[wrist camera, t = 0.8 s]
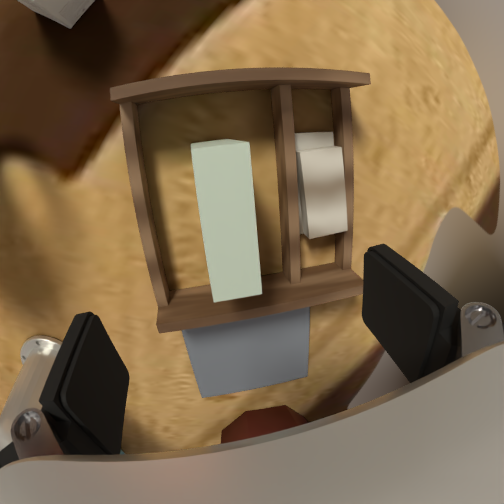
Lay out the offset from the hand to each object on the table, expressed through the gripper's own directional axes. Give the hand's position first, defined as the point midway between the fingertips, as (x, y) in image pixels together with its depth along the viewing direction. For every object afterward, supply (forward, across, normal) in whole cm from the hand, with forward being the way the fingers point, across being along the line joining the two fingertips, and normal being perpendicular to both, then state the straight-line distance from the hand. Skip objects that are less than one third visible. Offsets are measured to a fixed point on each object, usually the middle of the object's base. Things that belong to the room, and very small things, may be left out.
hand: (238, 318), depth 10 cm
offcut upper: (+24, -12, +3) cm, 28 cm away
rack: (+26, -5, +2) cm, 26 cm away
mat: (+25, -1, +25) cm, 35 cm away
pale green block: (+26, -1, +2) cm, 26 cm away
